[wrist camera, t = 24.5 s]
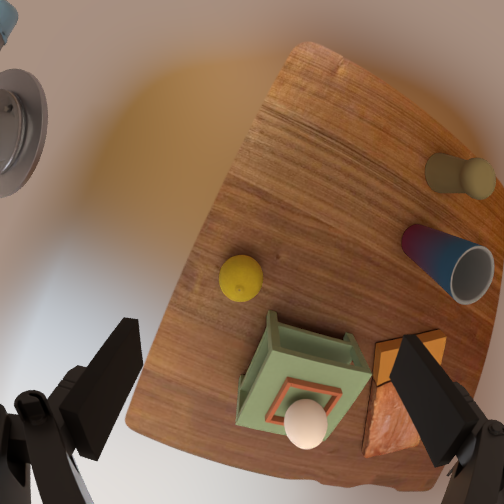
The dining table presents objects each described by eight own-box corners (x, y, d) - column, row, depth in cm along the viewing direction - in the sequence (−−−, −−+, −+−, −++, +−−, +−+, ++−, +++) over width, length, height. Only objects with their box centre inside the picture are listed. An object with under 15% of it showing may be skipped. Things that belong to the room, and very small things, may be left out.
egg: (293, 384, 37) (299, 428, 29) (329, 394, 37) (341, 436, 30) (275, 412, 38) (278, 455, 31) (310, 420, 39) (318, 461, 31)
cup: (424, 209, 41) (487, 233, 26) (439, 247, 42) (498, 283, 28) (389, 233, 42) (443, 267, 27) (405, 271, 43) (457, 315, 29)
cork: (444, 201, 40) (489, 214, 30) (418, 177, 39) (461, 184, 29) (461, 169, 39) (508, 175, 28) (436, 144, 38) (482, 144, 27)
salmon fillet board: (440, 327, 46) (449, 337, 43) (413, 436, 55) (418, 446, 52) (374, 342, 47) (380, 353, 44) (359, 450, 55) (363, 461, 52)
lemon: (269, 257, 43) (271, 278, 35) (252, 291, 44) (251, 318, 37) (231, 241, 42) (225, 259, 35) (216, 276, 44) (208, 301, 36)
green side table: (238, 379, 49) (234, 430, 38) (269, 309, 45) (272, 355, 34) (315, 397, 50) (325, 446, 39) (352, 333, 46) (375, 379, 35)
